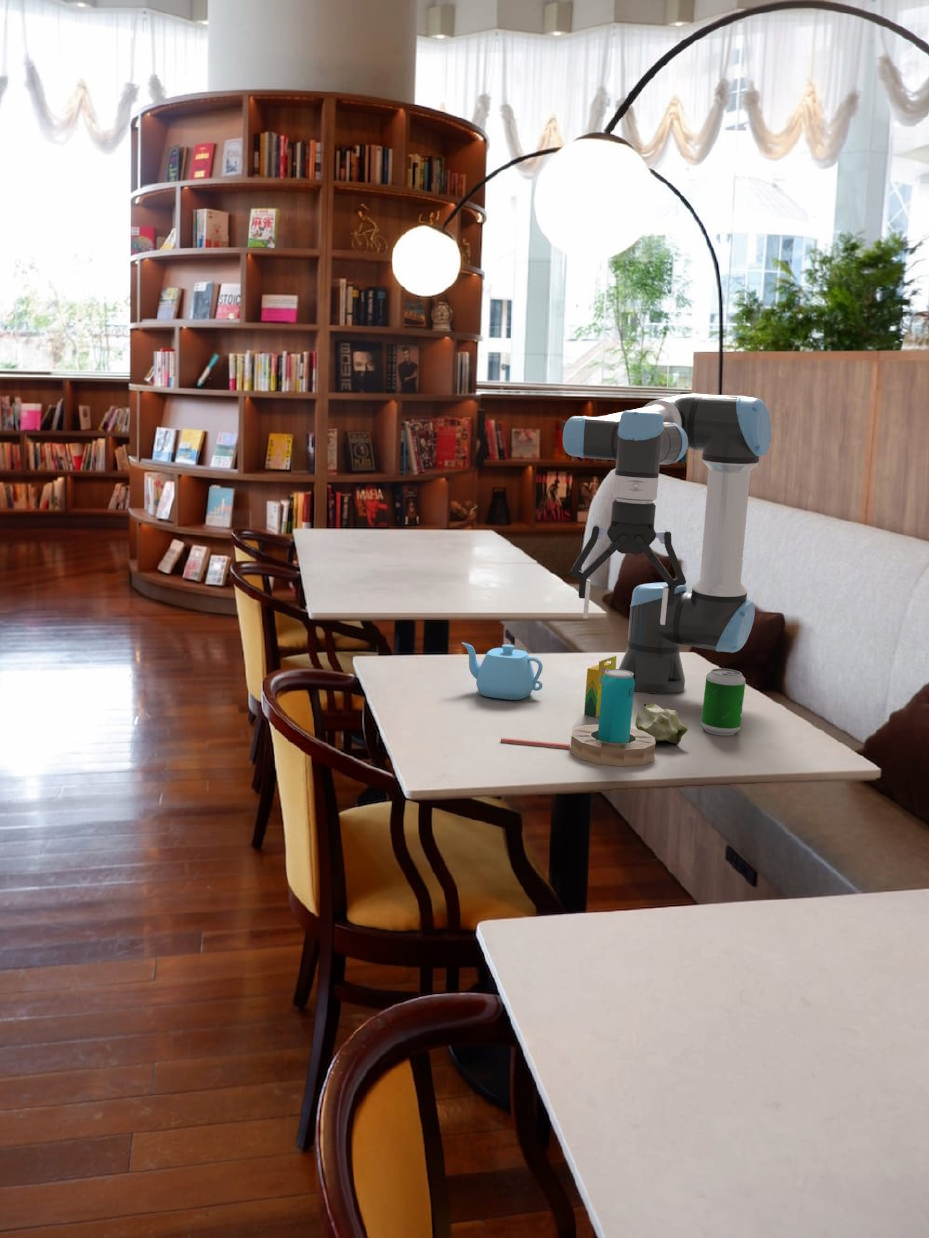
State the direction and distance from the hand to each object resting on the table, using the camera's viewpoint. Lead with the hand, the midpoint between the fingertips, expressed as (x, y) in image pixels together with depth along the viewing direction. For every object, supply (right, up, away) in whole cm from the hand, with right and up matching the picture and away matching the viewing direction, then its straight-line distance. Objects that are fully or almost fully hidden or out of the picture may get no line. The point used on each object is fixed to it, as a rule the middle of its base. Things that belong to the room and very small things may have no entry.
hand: (623, 620), depth 212 cm
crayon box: (-1, -19, +31) cm, 36 cm away
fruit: (+8, -23, +13) cm, 28 cm away
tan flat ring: (-2, -24, +5) cm, 25 cm away
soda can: (+22, -22, +23) cm, 39 cm away
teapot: (-21, -16, +41) cm, 48 cm away
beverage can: (-2, -24, +5) cm, 25 cm away
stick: (-15, -23, +6) cm, 28 cm away
